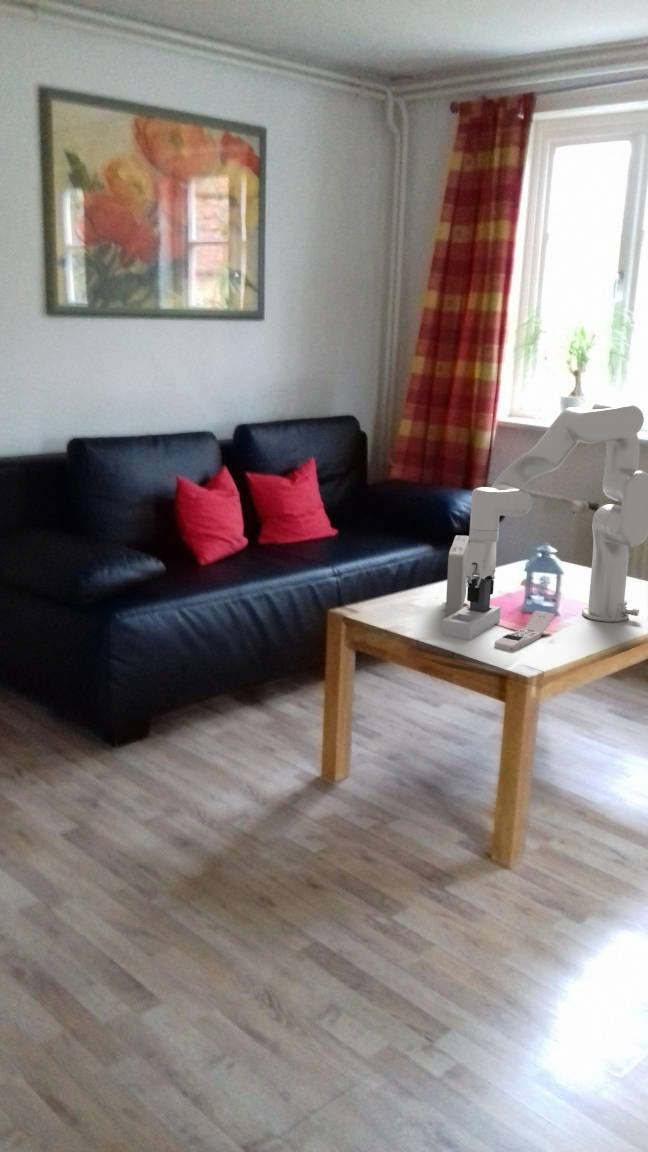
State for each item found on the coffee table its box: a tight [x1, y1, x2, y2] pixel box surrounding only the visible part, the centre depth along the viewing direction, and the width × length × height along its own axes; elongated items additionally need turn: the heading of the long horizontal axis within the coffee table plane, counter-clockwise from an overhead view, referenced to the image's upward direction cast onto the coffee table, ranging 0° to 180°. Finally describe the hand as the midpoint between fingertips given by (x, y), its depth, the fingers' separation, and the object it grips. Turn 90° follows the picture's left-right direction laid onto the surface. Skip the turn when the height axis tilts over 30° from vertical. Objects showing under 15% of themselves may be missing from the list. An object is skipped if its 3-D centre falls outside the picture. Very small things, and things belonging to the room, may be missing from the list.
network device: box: [441, 535, 470, 618], centre depth 286 cm, size 26×9×20 cm, turn 168°
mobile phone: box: [494, 610, 555, 652], centre depth 263 cm, size 6×6×25 cm
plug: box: [469, 578, 491, 613], centre depth 274 cm, size 5×4×12 cm
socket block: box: [440, 603, 502, 641], centre depth 271 cm, size 8×20×5 cm, turn 148°
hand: (480, 597), depth 274 cm, fingers open, 9 cm apart
